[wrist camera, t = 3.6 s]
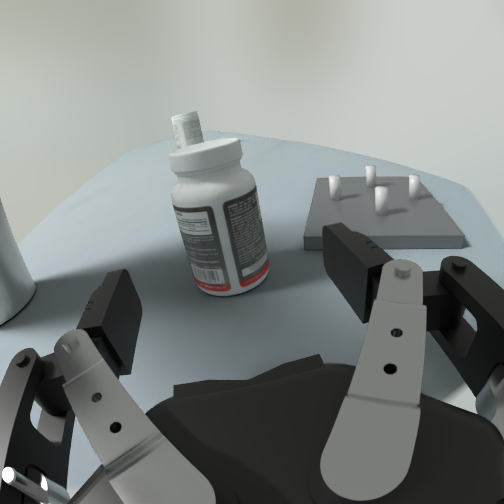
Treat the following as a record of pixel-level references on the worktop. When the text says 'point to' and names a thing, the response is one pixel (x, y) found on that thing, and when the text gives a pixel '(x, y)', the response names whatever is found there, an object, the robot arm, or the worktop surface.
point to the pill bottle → (219, 217)
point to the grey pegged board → (381, 212)
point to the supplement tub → (187, 129)
